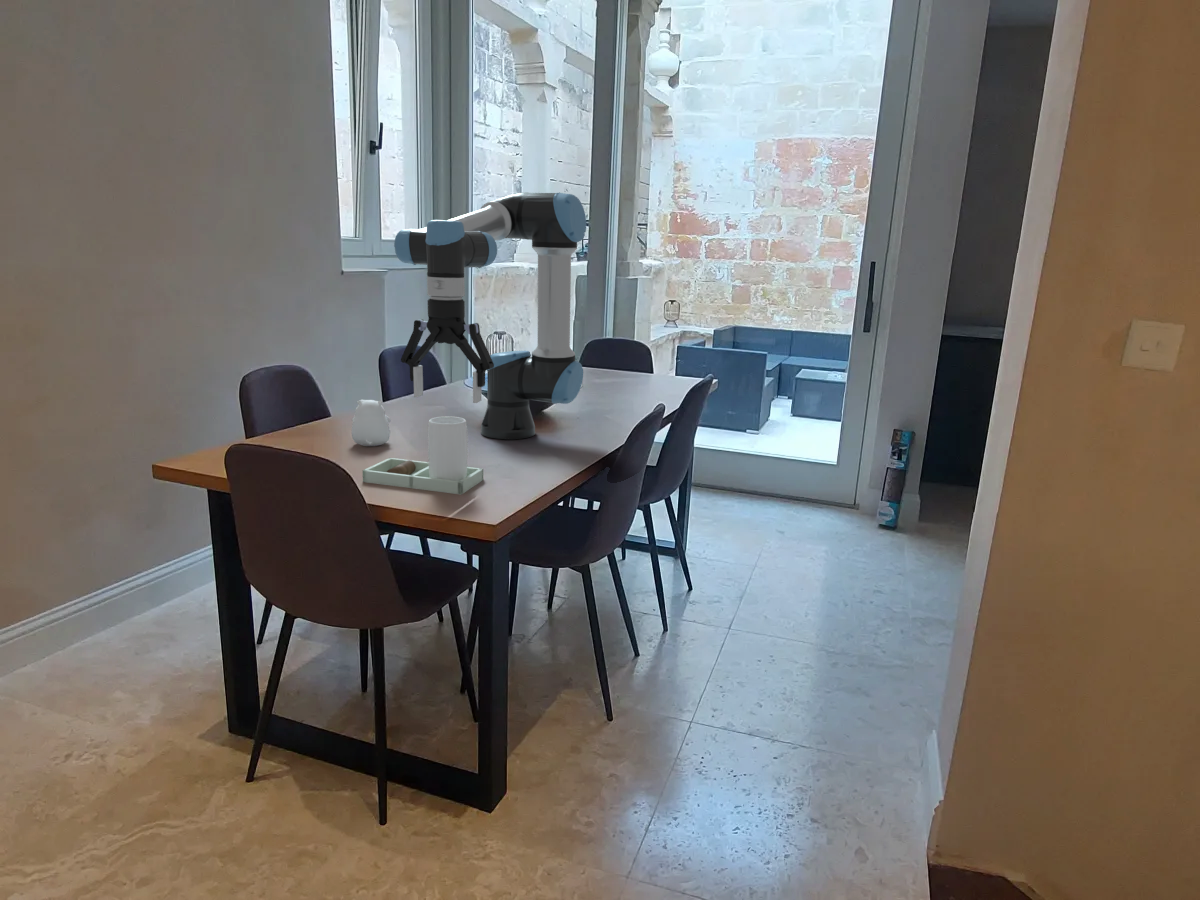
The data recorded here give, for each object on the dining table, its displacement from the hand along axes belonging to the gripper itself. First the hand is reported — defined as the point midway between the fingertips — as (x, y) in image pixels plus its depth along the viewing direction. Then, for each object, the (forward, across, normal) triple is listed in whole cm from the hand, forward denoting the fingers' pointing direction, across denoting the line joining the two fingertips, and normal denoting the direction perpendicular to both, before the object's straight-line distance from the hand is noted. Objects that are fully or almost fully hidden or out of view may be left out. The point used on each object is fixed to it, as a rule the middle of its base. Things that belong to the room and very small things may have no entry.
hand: (447, 399), depth 168 cm
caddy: (+19, -6, -1) cm, 20 cm away
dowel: (+19, -11, -1) cm, 22 cm away
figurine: (+20, -33, +24) cm, 45 cm away
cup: (+19, 0, -1) cm, 19 cm away
